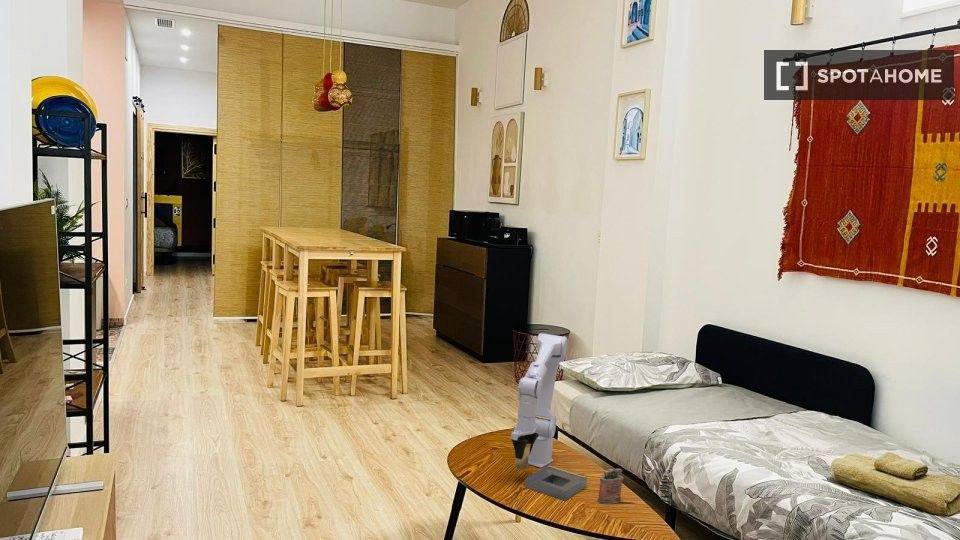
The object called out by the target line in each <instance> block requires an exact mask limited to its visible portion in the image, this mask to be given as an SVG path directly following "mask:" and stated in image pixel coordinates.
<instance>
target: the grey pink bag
mask: <svg viewBox="0 0 960 540" xmlns="http://www.w3.org/2000/svg"><path fill="white" fill-rule="evenodd" d="M622 472H623V469H621V468H615V469H612V468H608V469H607V470H604V471H603V476H600V477H599V481H600V482H599V489H598V497H597V503H598V502H599V503H598V504H601V505H607V504H609V505H610V504H617V503H619V502H622V501H621V500H622V498H621V495H622V488H623V487H622V485H623V481H624V476H622V475H621V474H622Z"/></svg>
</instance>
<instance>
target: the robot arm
mask: <svg viewBox="0 0 960 540" xmlns="http://www.w3.org/2000/svg"><path fill="white" fill-rule="evenodd" d="M568 339H569V338H568V337H567V336H560V335H555V334H549V333H543V332H541V333H539V334H538V335H537V338H536V344H535V347H536V350H537V355H536V360H534V361H532V362H531V363H530V365H529V366H528V369H527V371H526V373H525V374H524V376H523V377H521V378H520V379H519V382H518V386H517V394H518V397H517V399H518V401H519V402H518V410H517V411H518V412H517V419H516V420H517V421H516V424H515V425H514V426H513V429H514V430H513V431H512V432H511V435H510V440H511V442H512V445H513V449H514V454H515V455H514V456H515V459H516V458H518V459H522V458H523V455H524V450H525V447H526V444H527V442H530V443H531V445H530V452H529V461H528V465H530V466H534V467H537V468H540V469H542V468H544V467H546V466H548V465H549V464H551V463H552V462H554V458H552V455H553V447H554V446H553V445H554V441H553V438H554V436H555V434H556V427H557V417H556V415H555V413H554V412H553V411H552V410H551V406H552V400H553V394H554V389H555V385H556V378H557V375H558V374H557V372H558V369H559V366H560V363H561V362H565V359H566V357H567V351H568V345H569V340H568Z"/></svg>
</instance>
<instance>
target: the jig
mask: <svg viewBox="0 0 960 540" xmlns="http://www.w3.org/2000/svg"><path fill="white" fill-rule="evenodd" d="M587 482H588V477H587V476H584V475H580V474H578V473H575V472H571V471H568V470H565V469H561V468H558V467H556V466H552V465H549V464H547V465H545V466H544V467H542V468H540V469H538V470H537V471H536V472H534V473H532V474H530V475H529V476H526V477H525V482H524V488H526V489H530V490H532V491H535V492H538V493H541V494H545V495H548V496H551V497H553V498H557V499H559V500H562V501H567V500H569V498H572V497H573V496H574V495H576V494H577V493H579V492H580V491H582V490H584V489H585V488H586V487H587Z"/></svg>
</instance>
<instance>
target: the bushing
mask: <svg viewBox="0 0 960 540" xmlns="http://www.w3.org/2000/svg"><path fill="white" fill-rule="evenodd" d="M530 445H531V443H530V442H527V444H526V447H525V450H524V455H523V458H522V459H518V458H516V457H515V468H516V469H518V470H527V469H528V468H529V464H528V461H529V452H530Z"/></svg>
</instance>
